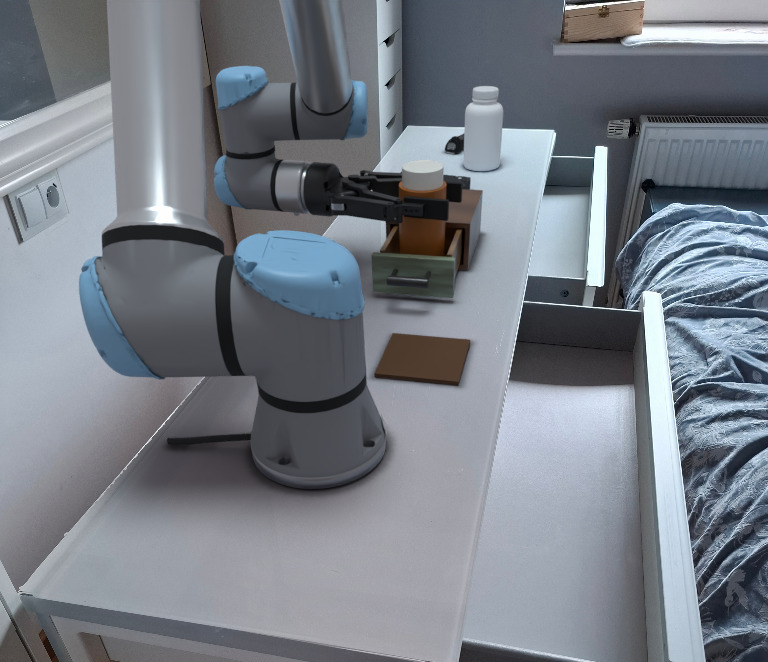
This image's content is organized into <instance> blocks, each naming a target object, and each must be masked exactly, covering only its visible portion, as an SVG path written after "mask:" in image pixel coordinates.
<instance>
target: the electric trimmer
mask: <svg viewBox="0 0 768 662" xmlns="http://www.w3.org/2000/svg"><path fill="white" fill-rule="evenodd" d="M462 149H464V133H461V134H460V135H454V136H452V137H451V138H450V139H448V140H447V142H446V144H445V146H444V152H445V153H446V154H452V155H456V154H460V153H459V152H460V151H461V150H462Z"/></svg>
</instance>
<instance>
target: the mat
mask: <svg viewBox="0 0 768 662" xmlns="http://www.w3.org/2000/svg"><path fill="white" fill-rule="evenodd" d="M470 345H471V339H467V338H455V337H444V336H433V335H422V334H421V335H420V334H410V333H409V334H408V333H400V332H399V333H398V332H392V334H391V336H390V337H389V340H388V342H387V345H386V347H385V348H384V352H383V354H382V356H381V358H380V360H379V362H378V365H377V367H376V369H375V371H374V378H378V379H388V380H389V379H390V380H400V381H411V382H419V383H429V384H439V385H450V386H459V384H460V382H461V378H462V375H463V371H464V367H465V363H466V359H467V356H468V353H469V350H470V349H469V348H470Z"/></svg>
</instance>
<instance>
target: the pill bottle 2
mask: <svg viewBox="0 0 768 662" xmlns="http://www.w3.org/2000/svg"><path fill="white" fill-rule="evenodd" d="M499 94H500V89H499V88H498V87H497V86H494V85H493V86H491V85H479V86H475V87H473V89H472V98H471V101H472V102H470V103H469V104H468V105H467V106H466V108H465V111H464V148H463V161H462V162H463V167H464V168H465V169H467V170H470V171H474V172H488V171H493V170H496V169H498V168H499V167H500V164H501V153H502V138H503V122H504V108H503V105H502V104H501V103H500V102H498V100H499Z"/></svg>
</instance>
